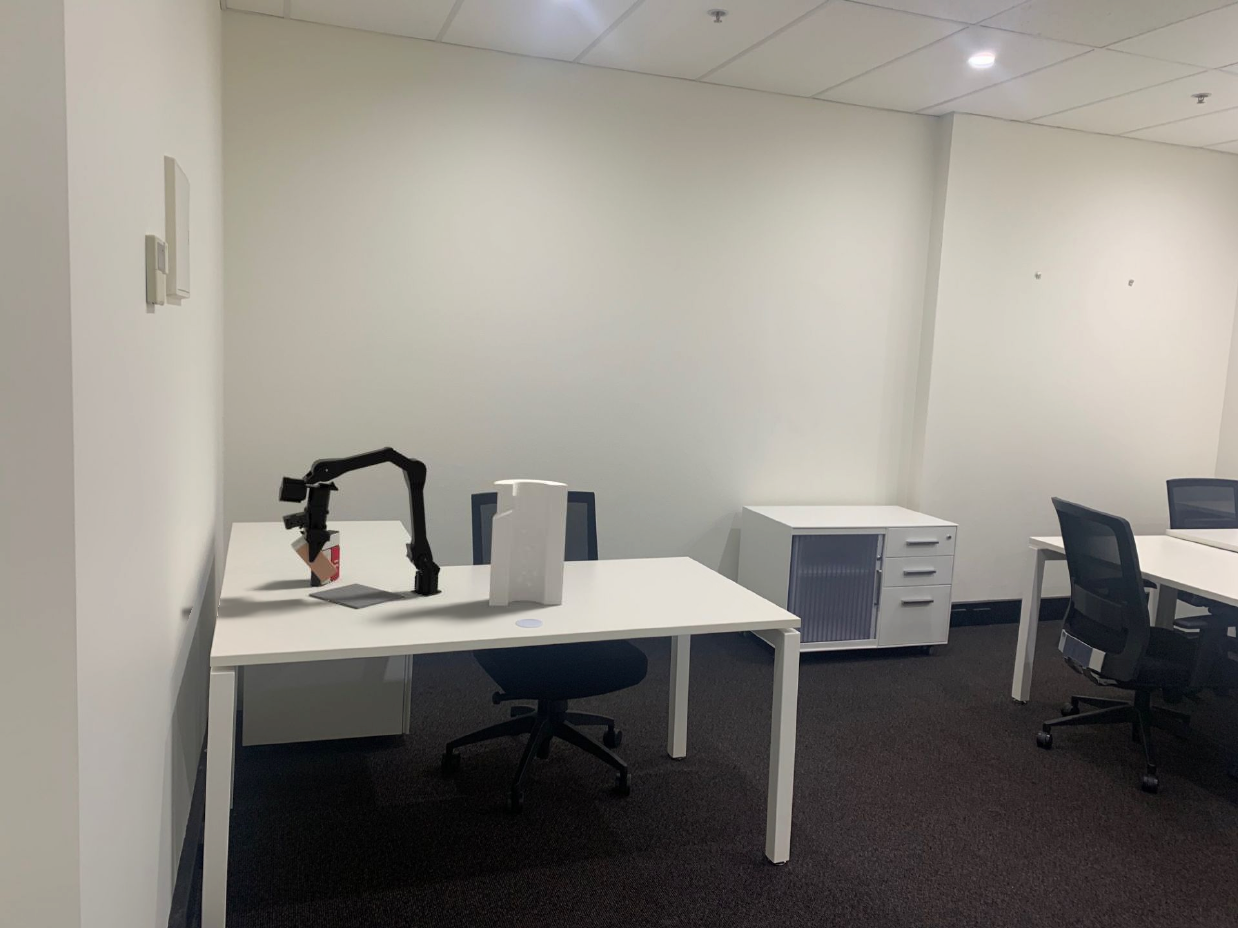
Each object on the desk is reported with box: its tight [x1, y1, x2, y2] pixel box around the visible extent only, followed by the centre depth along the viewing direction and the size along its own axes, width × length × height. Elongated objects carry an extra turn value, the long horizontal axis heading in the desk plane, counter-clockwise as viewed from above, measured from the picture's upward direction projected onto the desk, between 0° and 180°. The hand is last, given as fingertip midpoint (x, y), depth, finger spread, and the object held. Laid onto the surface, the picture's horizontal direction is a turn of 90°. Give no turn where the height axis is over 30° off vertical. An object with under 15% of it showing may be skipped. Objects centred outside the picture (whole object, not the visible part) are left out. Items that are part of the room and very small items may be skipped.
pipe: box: [488, 478, 569, 607], centre depth 256 cm, size 35×11×21 cm
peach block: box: [290, 534, 338, 583], centre depth 245 cm, size 5×5×13 cm
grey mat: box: [308, 583, 405, 610], centre depth 252 cm, size 20×17×1 cm
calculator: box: [310, 529, 341, 587], centre depth 265 cm, size 11×4×15 cm, turn 168°
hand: (309, 560), depth 244 cm, fingers closed on peach block, 5 cm apart
